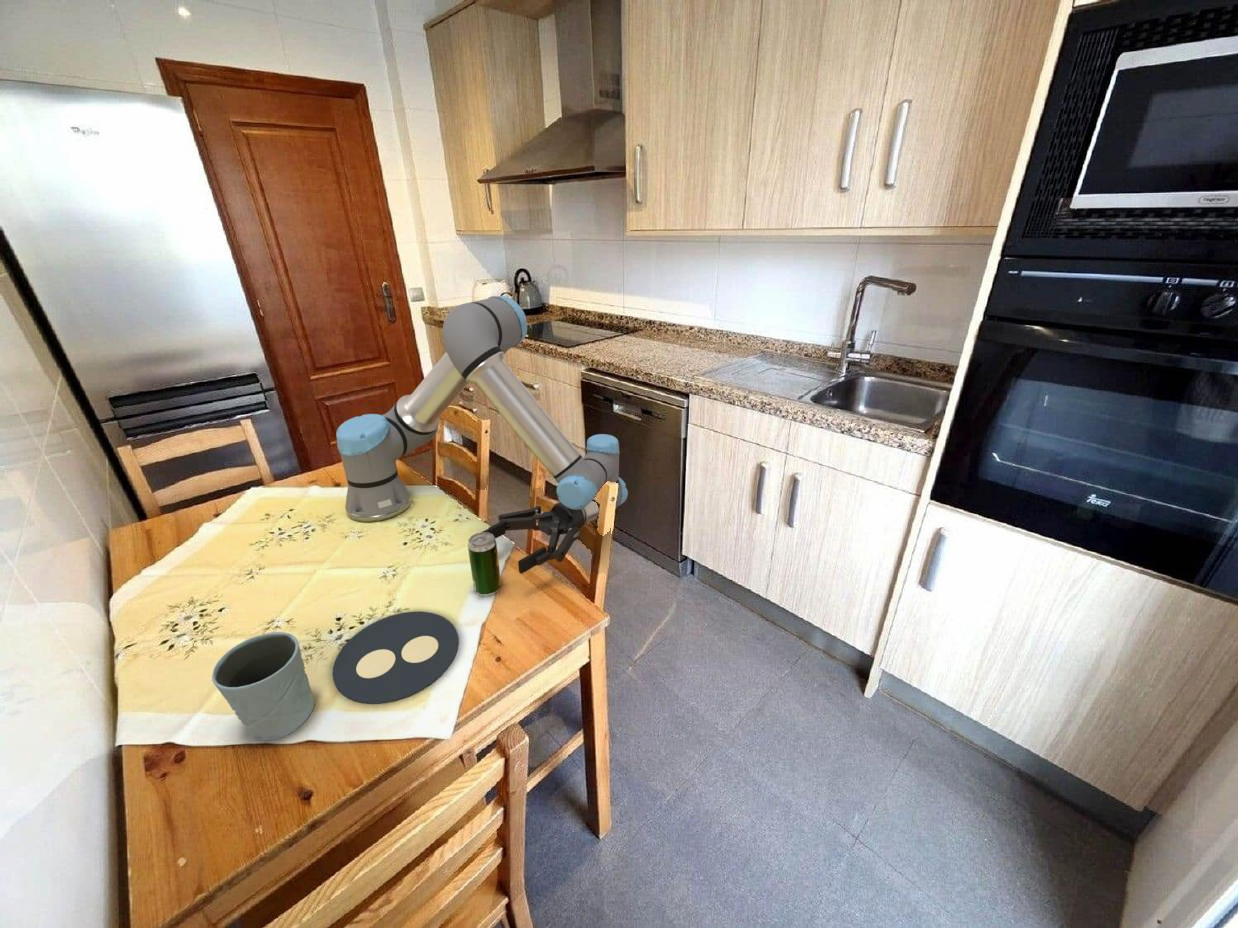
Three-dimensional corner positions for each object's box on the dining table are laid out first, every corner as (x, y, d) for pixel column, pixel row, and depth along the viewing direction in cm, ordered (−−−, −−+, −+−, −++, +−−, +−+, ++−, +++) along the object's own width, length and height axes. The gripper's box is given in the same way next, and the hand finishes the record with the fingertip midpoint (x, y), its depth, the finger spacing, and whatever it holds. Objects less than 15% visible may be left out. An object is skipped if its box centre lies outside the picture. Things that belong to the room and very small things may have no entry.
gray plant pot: (333, 701, 78) (314, 644, 72) (269, 759, 69) (242, 699, 64) (289, 679, 81) (267, 623, 76) (223, 731, 73) (194, 672, 68)
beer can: (479, 600, 99) (472, 550, 93) (470, 585, 103) (463, 536, 97) (505, 591, 101) (500, 541, 96) (495, 576, 105) (489, 528, 100)
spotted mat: (332, 634, 90) (332, 632, 90) (447, 600, 99) (446, 598, 98) (333, 723, 74) (332, 722, 74) (469, 674, 83) (469, 672, 82)
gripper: (614, 547, 110) (540, 596, 95) (539, 507, 124) (465, 544, 110) (614, 518, 106) (537, 564, 92) (538, 480, 121) (461, 515, 107)
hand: (498, 553), depth 101 cm, fingers open, 13 cm apart
